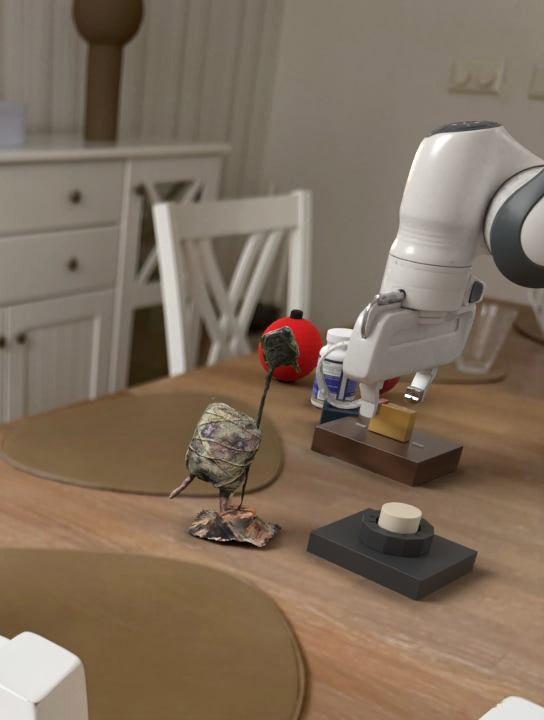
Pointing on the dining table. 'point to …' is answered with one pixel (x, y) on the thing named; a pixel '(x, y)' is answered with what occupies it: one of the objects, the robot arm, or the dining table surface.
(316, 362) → the ornament
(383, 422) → the block
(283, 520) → the dining table surface
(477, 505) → the dining table surface
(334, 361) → the pill bottle
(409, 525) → the bell button
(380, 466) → the plate
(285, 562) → the dining table surface
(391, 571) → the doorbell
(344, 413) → the watch
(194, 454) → the stone sculpture
